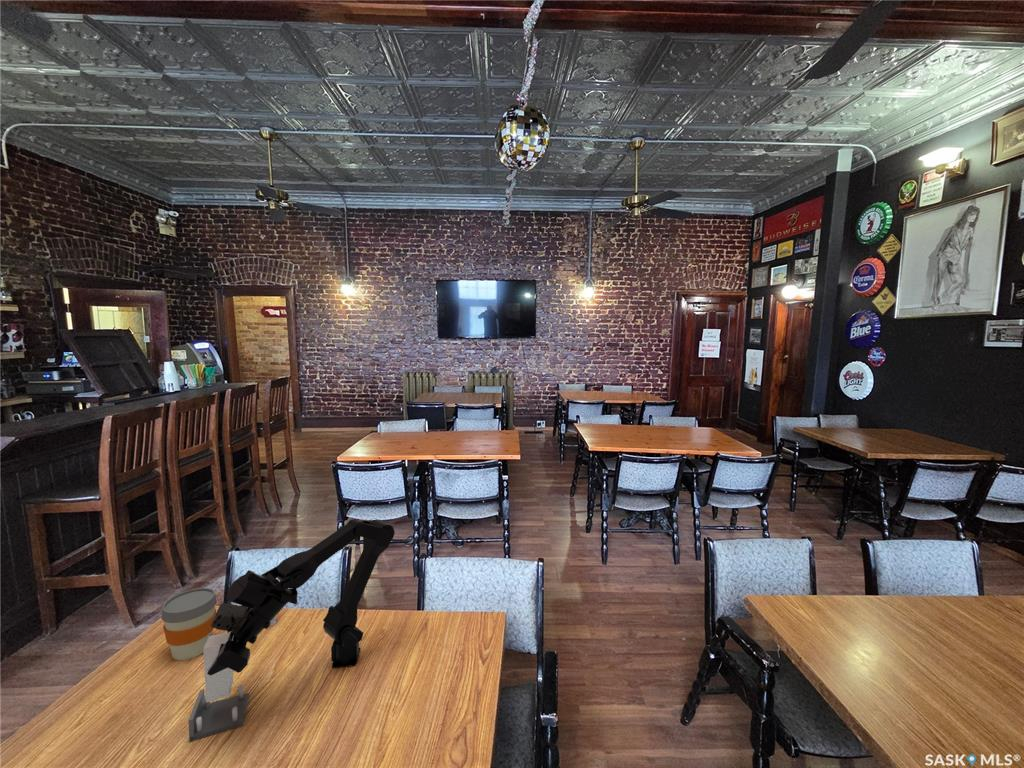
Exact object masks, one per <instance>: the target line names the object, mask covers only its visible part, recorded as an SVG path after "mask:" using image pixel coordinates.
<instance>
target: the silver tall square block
mask: <svg viewBox="0 0 1024 768" xmlns="http://www.w3.org/2000/svg"><path fill="white" fill-rule="evenodd" d="M228 641H231V633H230V632H227V631H226V632H223V633H219V634H212V636H209V637H208V639H207V641H206V644H205V646H204V648H203V666H204V669H203V670H204V687H205V695H206V702H209V701H210V702H214V701H218V700H219V699H220V700H221V699H223V698H224V699H225V698H229V697H230V696H231V691H232V688H233V684H234V670H232V669H230V668H226V669H224V670H222V671H220V672H218V673H215V674H213V675H208V674H207V672H208V671H209V669H210V668H211V666H212V665H213V664H214V662H215V661H216V658H217V656H218V653H219V649H220V646H221V644H225V643H226V642H228Z"/></svg>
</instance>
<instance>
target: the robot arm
mask: <svg viewBox="0 0 1024 768" xmlns="http://www.w3.org/2000/svg"><path fill="white" fill-rule="evenodd" d="M395 534H396V532H395V529H394V526H393V525H391V524H389V523H387V522H384V521H383V520H381V519H377V518H376V519H373V520H366V519H365V520H364V519H357V518H353V519H349V520H348V521H347V523H346V524H344V525H343V526H341V527H340V528H338V530H336V531H334V532H333V533H332V534H330V535H328V536H327V537H326V538H324V539H323V540H322V541H320V542H318V543H317V544H315V545H314V546H313V547H311V548H310V549H309V548H308V549H307V550H304V551H301V552H297V553H295V554H293V555H291V556H288V557H287V558H285V559H283V560H282V561H280V562H279V564H278V565H276V566H274V567H272V568H270V569H269V570H267V571H266V572H264V573H262V574H258V573H256V572H255V571H252V570H250V569H248V570H247V571H246V573H245V574H242V575H240V576H239V577H237V579H235V580H234V581H233V582H232V583H231V584H230V586H229V589H227V590H228V591H227V593H226V600H227V602H231V603H234V604H231V603H227V602H223V603H222V602H221V604H220V605H219V606H218V608H217V609H216V614H215V616H214V619H213V621H212V623H211V627H213V628H214V629H216V630H218V631H226V633H227V632H230V633H231V641H228V642H226V643H225V644H221V646H220V649H219V653H218V656H217V658H216V661H215V662H214V664H213V665H212V666H211V668H210V669H209V671H208V672H207V674H208V675H213V674H215V673H218V672H220V671H222V670H224V669H226V668H230V669H232V670H233V672H236V673H241V672H242V671H243V670H244V669H246V667H248V664H249V660H250V656H251V650H250V648H249V647H247V643H249V644H251V645H254V644H255V643H256V641H257V639H258V635H260V634H261V633H262V631H263V630H264V629H265V630H268V629H269V627H271V626H270V623H271V620H272V619H273V618H274V617H275V616H276V617H277V615H278V614H279V612H281V610H283V609H284V608H285V607H286V606H287V604H288V603H290V604H293V605H297V604H298V594H299V593H298V589H299V588H300V587H302V586H303V585H305V584H306V583H307V581H308V580H310V579H311V578H312V577H314V574H315V573H316V571H317V569H318V567H320V566H321V565H322V564H323V563H324V562H326V561H327V560H329V559H330V558H331V557H333V556H334V555H335V554H337V553H338V552H340V551H341V550H343V549H344V548H345V547H347V546H348V545H349V544H350V543H352V542H353V541H355V540H356V539H357V538H359V537H360V538H362V552H361V554H360V556H359V558H358V561H357V562H356V565H355V567H354V569H353V572H352V575H351V577H350V578H349V581H348V583H347V585H346V588H345V590H344V593H343V595H342V597H341V599H340V601H339V602H338V603H336V605H335V606H333V605H330V606H329V608H328V610H327V613H326V615H325V617H324V618H323V619H322V621H323V622H324V623H323V624H322V625H323V627H322V628H323V630H324V633H326V634H327V635H328V636H329V637H330V638H331V639H332V640H333V642H332V645H331V648H330V651H331V652H330V655H331V657H330V658H331V662H332V664H331V668H332V669H336V668H344V667H345V668H346V667H347V668H348V667H355V666H357V665H358V662H359V661H358V660H359V657H360V653H361V647H360V642H361V641H362V640H363V637H364V632H363V631H362V630H361V629H359V628H358V627H357V622H358V606H359V604H360V602H361V600H362V597H363V594H364V592H365V589H366V587H367V585H368V582H369V581H370V578H371V575H372V573H373V570H374V568H375V566H376V563H377V562H378V559H379V558H380V555H381V554H382V553H383V552H384V551H386V550H387V549H388V547H389V546H390V544H391V542H392V540H393V539H394V538H395Z"/></svg>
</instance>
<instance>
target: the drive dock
mask: <svg viewBox="0 0 1024 768" xmlns="http://www.w3.org/2000/svg"><path fill="white" fill-rule="evenodd" d="M249 699H250V692H246V693H244V685H243V684H239V685H238V686H237V695H234V696H231V697H230V696H229V697H226V698H224V699H223V698H222V699H220V700H215V701H209V702H206V694H205V689H200V690H199V692H198V695H197V697H196V700H195V702H194V705H193V708H192V710H191V713H190V716H189V719H188V723H187V724H188V739H189V742H194V741H197V740H200V739H203V738H207V737H209V736H213V735H216V734H220V733H223V732H226V731H229V730H234V729H237V728H240V727H243V724H244V720H245V717H246V712H247V709H248V704H249Z"/></svg>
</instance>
